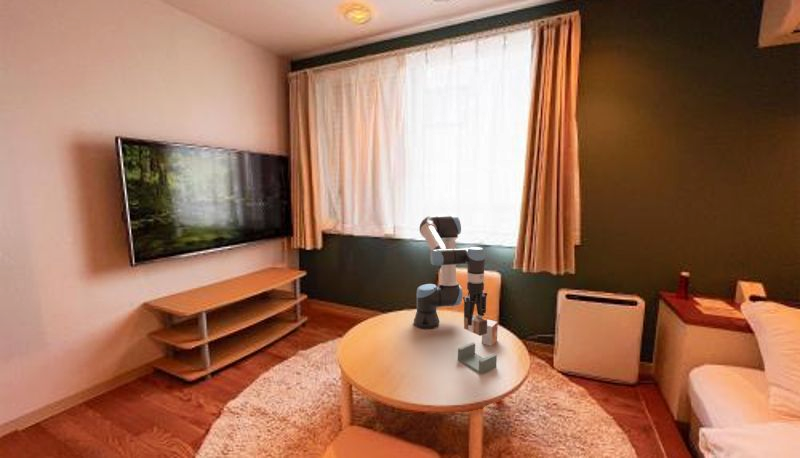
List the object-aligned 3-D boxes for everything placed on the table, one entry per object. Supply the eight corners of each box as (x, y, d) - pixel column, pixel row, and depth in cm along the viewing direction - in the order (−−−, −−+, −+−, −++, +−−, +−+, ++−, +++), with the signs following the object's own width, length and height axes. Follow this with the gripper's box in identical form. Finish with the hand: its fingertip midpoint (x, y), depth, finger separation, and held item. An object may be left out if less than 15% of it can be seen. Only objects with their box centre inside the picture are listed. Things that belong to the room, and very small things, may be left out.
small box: (491, 346, 169) (492, 327, 167) (481, 343, 172) (481, 324, 171) (497, 340, 175) (498, 321, 173) (487, 337, 178) (488, 319, 177)
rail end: (464, 328, 156) (463, 316, 155) (470, 326, 158) (470, 313, 157) (480, 335, 147) (480, 322, 147) (487, 333, 150) (487, 320, 149)
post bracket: (457, 360, 156) (458, 348, 155) (472, 353, 162) (472, 342, 161) (481, 374, 144) (481, 362, 143) (496, 367, 150) (496, 355, 149)
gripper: (467, 286, 142) (467, 337, 145) (495, 279, 152) (493, 328, 155) (455, 282, 148) (455, 331, 151) (482, 276, 158) (481, 322, 161)
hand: (474, 329), depth 153 cm, fingers closed on rail end, 4 cm apart
